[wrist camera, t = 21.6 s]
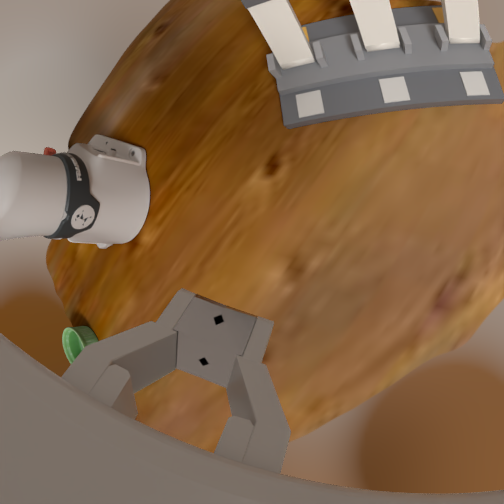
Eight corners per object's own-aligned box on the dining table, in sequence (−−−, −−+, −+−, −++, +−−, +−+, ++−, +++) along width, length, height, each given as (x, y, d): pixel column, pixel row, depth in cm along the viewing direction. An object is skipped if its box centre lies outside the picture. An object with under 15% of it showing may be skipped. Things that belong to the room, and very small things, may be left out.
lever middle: (402, 50, 26) (378, -37, 18) (366, 54, 28) (336, -30, 20) (399, 43, 27) (375, -40, 18) (364, 48, 29) (334, -34, 20)
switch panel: (501, 103, 25) (513, 86, 20) (288, 129, 36) (272, 116, 32) (463, 11, 24) (466, -11, 20) (274, 39, 36) (258, 21, 32)
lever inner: (316, 64, 31) (278, -15, 22) (282, 72, 33) (239, -2, 24) (316, 57, 31) (279, -19, 23) (282, 65, 33) (241, -7, 24)
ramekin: (80, 314, 58) (63, 318, 54) (106, 340, 54) (88, 346, 50) (76, 347, 60) (60, 351, 56) (100, 373, 56) (84, 379, 53)
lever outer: (481, 46, 22) (474, -37, 13) (449, 46, 24) (436, -38, 15) (476, 38, 22) (467, -42, 14) (444, 39, 24) (431, -43, 15)
